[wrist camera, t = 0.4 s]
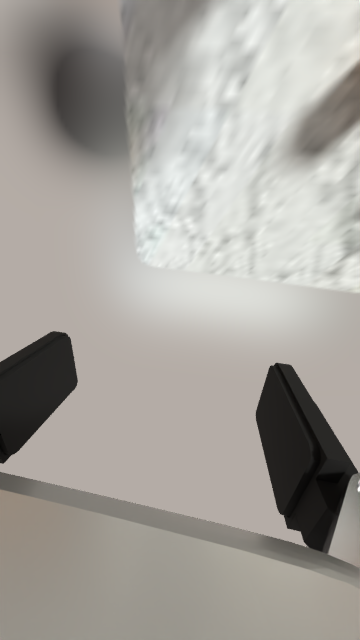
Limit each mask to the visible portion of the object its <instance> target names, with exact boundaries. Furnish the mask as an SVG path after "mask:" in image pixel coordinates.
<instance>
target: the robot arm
mask: <svg viewBox="0 0 360 640" xmlns="http://www.w3.org/2000/svg"><path fill="white" fill-rule="evenodd" d="M77 382H78V380H77V375H76V368H75V362H74V356H73V350H72V345H71V339H70V337H68V335H67V334H66V333H62V332H55V331H53V332H50V333H49V334H47V335H46V336H44V337H42V338H40V339H39V340H37V341H35V342H33V343H32V344H30V345H28V346H27V347H25V348H23V349H22V350H20V351H18V352H17V353H15V354H13V355H11V356H10V357H8V358H7V359H5V360H3V361H1V362H0V463H4V462H6V460H7V459H8V458H9V457H10V456H11V455H12V454H15V453H16V452H17V451H19V450H20V448H21V447H22V446H23V445H24V444H25V443H26V442H27V441H28V439H30V437H31V436H32V435H33V434H34V433H35V432H36V431H37V430H38V428H39V427H40V426H41V425H42V424H43V423H44V422H45V421H46V420H47V419H48V418H49V416H50V415H51V414H52V413H53V412H54V411H55V410H56V409H57V408H58V406H59V405H60V404H61V403H62V402H63V401H64V400H65V399H66V398H67V396H68V395H69V394H70V393H71V392H72V391H73V390H74V389H75V387H76V386H77ZM256 421H257V425H258V429H259V434H260V438H261V442H262V446H263V450H264V455H265V459H266V463H267V467H268V471H269V475H270V480H271V483H272V488H273V492H274V496H275V500H276V505H277V508H278V511H279V513H280V514H282V515H284V518H285V521H286V525H287V528H288V529H293V530H297V531H301V534H302V537H303V540H304V542H305V544H306V545H307V546H306V547H304V546H301V545H298V544H295V543H292V542H288V541H284V540H280V539H277V538H273V537H269V536H265V535H261V534H258V533H254V532H250V531H246V530H242V529H239V528H235V527H231V526H227V525H223V524H219V523H215V522H211V521H206V520H202V519H198V518H194V517H190V516H185V515H181V514H177V513H173V512H168V511H165V510H160V509H156V508H152V507H148V506H143V505H140V504H136V503H131V502H127V501H122V500H118V499H114V498H110V497H106V496H101V495H97V494H93V493H89V492H84V491H80V490H76V489H71V488H67V487H63V486H58V485H54V484H50V483H46V482H41V481H37V480H33V479H28V478H24V477H20V476H15V475H11V474H6V473H2V472H0V640H360V473H358V471H357V469H356V468H355V466H354V465H353V463H352V461H351V460H350V458H349V456H348V455H347V453H346V452H345V450H344V448H343V447H342V445H341V444H340V442H339V440H338V439H337V437H336V436H335V434H334V432H333V431H332V429H331V427H330V426H329V424H328V423H327V421H326V419H325V418H324V416H323V414H322V413H321V411H320V410H319V408H318V406H317V405H316V404H315V402H314V401H313V400H312V398H311V396H310V395H309V393H308V392H307V390H306V388H305V387H304V385H303V384H302V382H301V380H300V378H299V377H298V375H297V374H296V372H295V370H294V369H293V367H292V366H291V365H288V364H281V363H275V365H274V366H270V368H269V371H268V374H267V377H266V381H265V384H264V387H263V390H262V394H261V397H260V400H259V404H258V407H257V410H256Z"/></svg>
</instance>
